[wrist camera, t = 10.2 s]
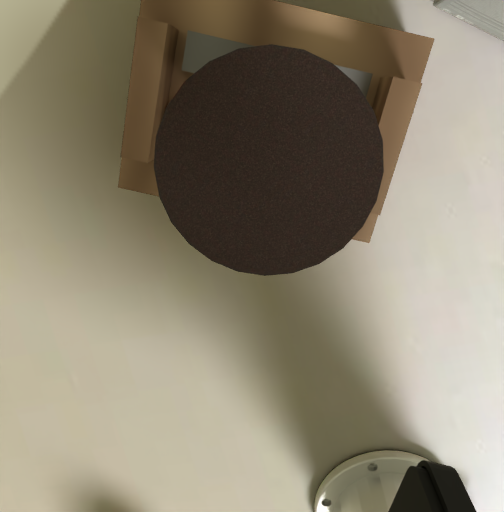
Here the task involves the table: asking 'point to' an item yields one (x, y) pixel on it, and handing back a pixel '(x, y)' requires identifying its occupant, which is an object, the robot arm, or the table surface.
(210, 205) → the deodorant
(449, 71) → the table surface
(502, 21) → the skincare box
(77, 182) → the table surface
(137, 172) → the display stand
